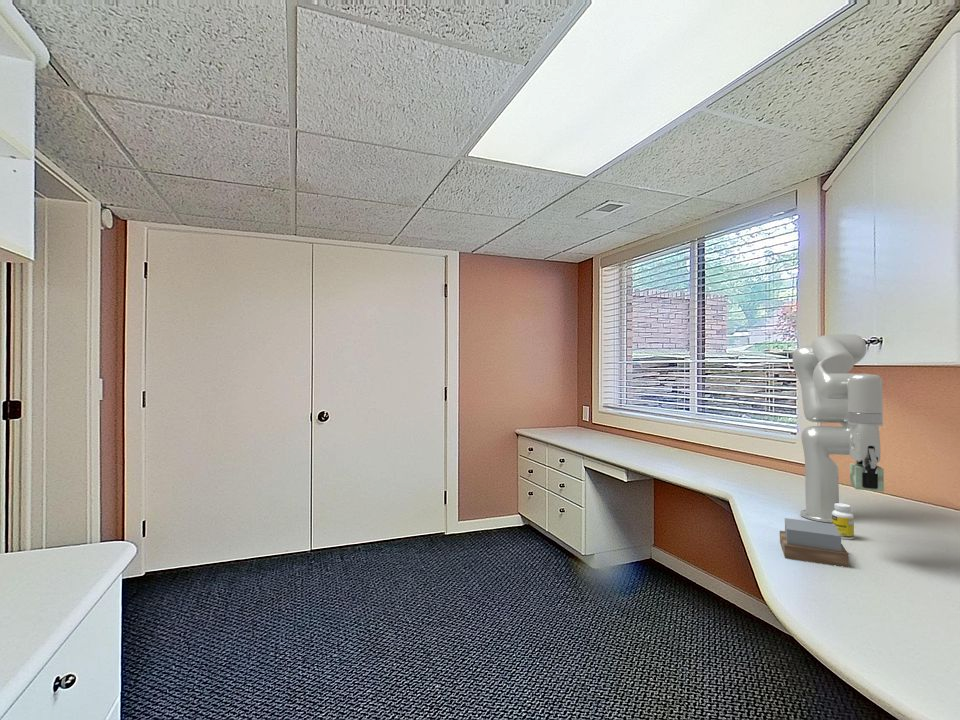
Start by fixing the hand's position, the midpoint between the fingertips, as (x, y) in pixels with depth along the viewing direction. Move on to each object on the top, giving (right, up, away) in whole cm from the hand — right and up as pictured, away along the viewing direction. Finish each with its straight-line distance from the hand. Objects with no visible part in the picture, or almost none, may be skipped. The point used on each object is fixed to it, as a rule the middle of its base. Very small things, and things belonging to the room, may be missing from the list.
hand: (866, 484), depth 134 cm
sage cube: (0, -1, 0) cm, 1 cm away
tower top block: (-14, -16, +2) cm, 21 cm away
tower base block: (-14, -20, +2) cm, 24 cm away
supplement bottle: (+5, -20, +16) cm, 26 cm away
